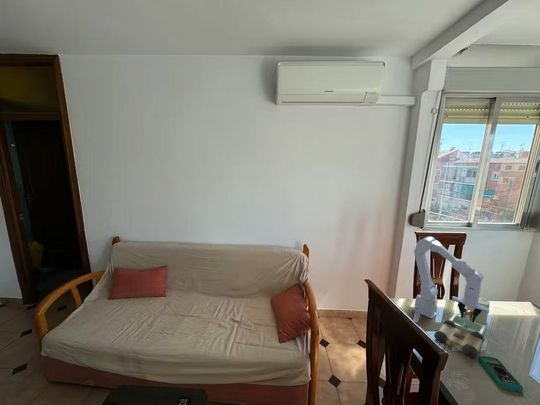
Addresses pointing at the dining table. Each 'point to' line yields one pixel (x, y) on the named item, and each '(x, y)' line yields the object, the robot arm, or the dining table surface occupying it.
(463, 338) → the trolley
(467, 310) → the stop pin
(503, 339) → the dining table surface
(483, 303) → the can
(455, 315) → the tray
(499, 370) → the digital multimeter
